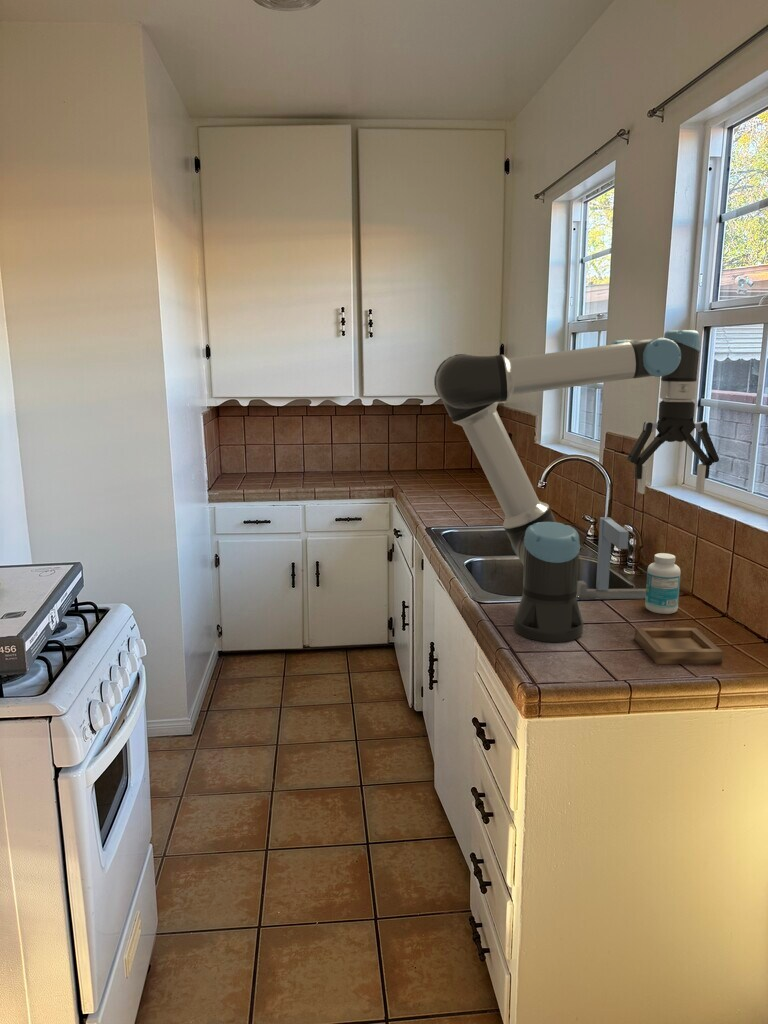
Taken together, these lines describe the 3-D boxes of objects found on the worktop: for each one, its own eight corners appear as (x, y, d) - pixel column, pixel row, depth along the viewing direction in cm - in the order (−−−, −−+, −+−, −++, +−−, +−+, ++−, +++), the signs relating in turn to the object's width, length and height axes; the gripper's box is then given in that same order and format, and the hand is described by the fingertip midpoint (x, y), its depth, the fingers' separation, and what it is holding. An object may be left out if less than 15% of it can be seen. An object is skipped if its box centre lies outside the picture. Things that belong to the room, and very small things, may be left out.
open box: (656, 663, 145) (657, 651, 145) (634, 638, 158) (635, 628, 157) (721, 663, 145) (722, 651, 145) (694, 638, 158) (695, 627, 157)
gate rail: (579, 599, 183) (580, 584, 183) (576, 595, 186) (577, 580, 185) (672, 599, 183) (673, 584, 182) (667, 595, 186) (669, 580, 185)
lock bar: (614, 607, 171) (619, 531, 167) (596, 587, 185) (600, 517, 182) (624, 607, 171) (629, 531, 167) (605, 587, 185) (609, 517, 182)
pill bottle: (651, 602, 181) (655, 549, 178) (681, 608, 176) (686, 554, 174) (640, 610, 175) (643, 556, 173) (671, 617, 171) (675, 561, 168)
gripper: (627, 401, 162) (621, 496, 166) (740, 401, 162) (731, 495, 166) (617, 399, 169) (611, 490, 174) (724, 399, 169) (716, 489, 174)
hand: (670, 492), depth 170 cm, fingers open, 13 cm apart
